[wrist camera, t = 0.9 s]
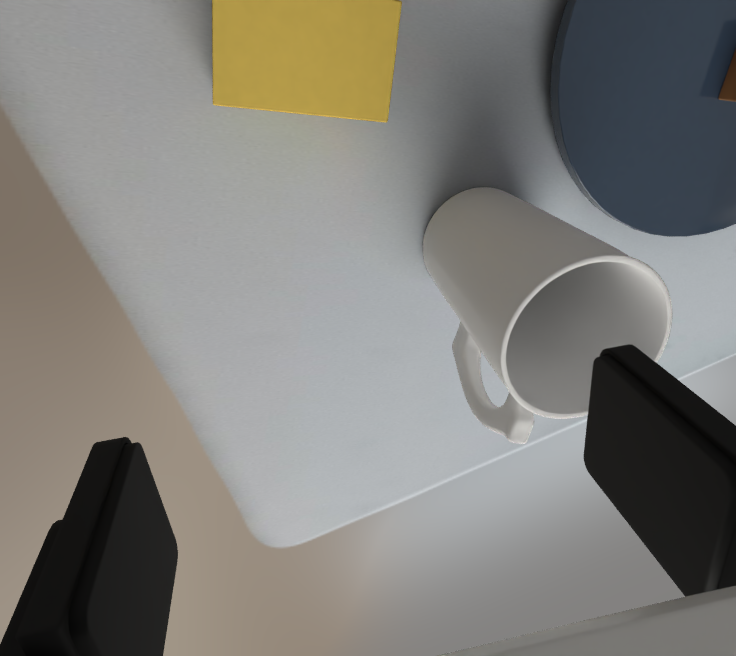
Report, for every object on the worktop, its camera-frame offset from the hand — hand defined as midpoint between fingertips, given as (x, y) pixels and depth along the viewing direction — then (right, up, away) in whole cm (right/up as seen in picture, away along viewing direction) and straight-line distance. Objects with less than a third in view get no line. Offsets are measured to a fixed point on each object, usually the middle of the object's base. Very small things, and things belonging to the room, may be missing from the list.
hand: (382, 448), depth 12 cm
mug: (+5, +6, +21) cm, 22 cm away
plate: (+17, +16, +18) cm, 30 cm away
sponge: (-3, +15, +14) cm, 21 cm away
